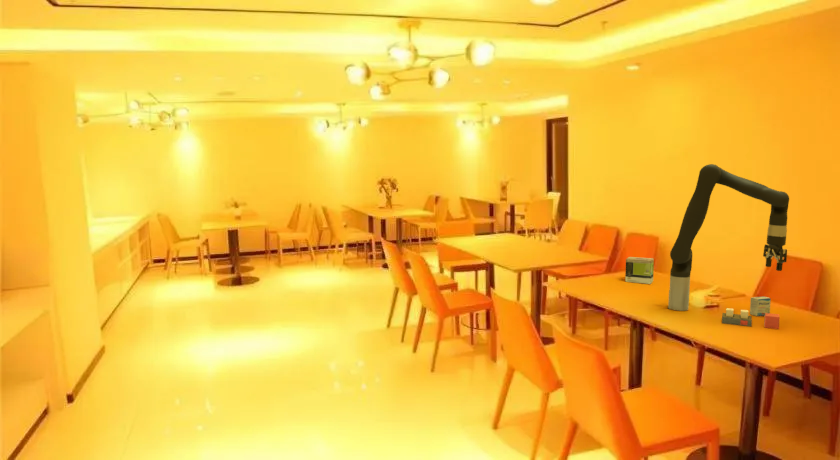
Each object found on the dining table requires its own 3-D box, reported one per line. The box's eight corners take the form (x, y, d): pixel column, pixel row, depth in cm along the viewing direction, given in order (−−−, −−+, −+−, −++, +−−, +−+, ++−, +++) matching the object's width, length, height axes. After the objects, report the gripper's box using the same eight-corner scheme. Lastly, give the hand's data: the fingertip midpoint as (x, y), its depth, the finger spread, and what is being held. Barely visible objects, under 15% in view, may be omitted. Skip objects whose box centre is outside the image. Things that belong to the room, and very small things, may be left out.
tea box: (653, 281, 351) (654, 258, 349) (650, 284, 343) (651, 260, 341) (628, 278, 359) (629, 256, 357) (624, 281, 351) (625, 258, 349)
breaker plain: (725, 318, 265) (726, 309, 265) (725, 317, 268) (726, 308, 267) (732, 319, 264) (733, 310, 263) (732, 318, 266) (733, 308, 266)
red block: (764, 327, 257) (765, 315, 256) (764, 324, 261) (765, 312, 261) (778, 329, 254) (779, 317, 253) (777, 325, 259) (778, 314, 258)
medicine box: (756, 316, 274) (758, 299, 273) (749, 314, 278) (750, 297, 277) (769, 315, 276) (771, 298, 275) (762, 312, 280) (763, 295, 279)
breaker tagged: (740, 320, 262) (740, 311, 262) (740, 318, 265) (740, 309, 264) (747, 321, 261) (748, 312, 260) (747, 319, 263) (748, 310, 263)
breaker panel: (721, 323, 264) (722, 317, 263) (722, 318, 271) (722, 312, 271) (751, 326, 258) (751, 320, 258) (750, 322, 265) (751, 315, 265)
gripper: (759, 232, 269) (756, 265, 271) (777, 236, 255) (774, 271, 257) (775, 232, 268) (772, 265, 271) (794, 237, 254) (791, 272, 257)
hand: (773, 268), depth 264 cm, fingers open, 8 cm apart
